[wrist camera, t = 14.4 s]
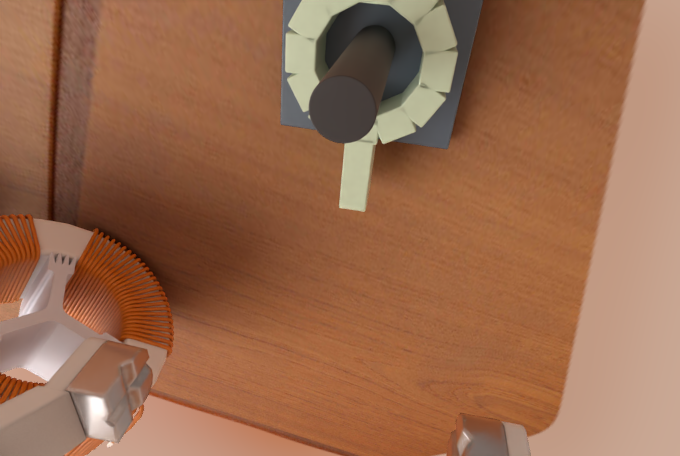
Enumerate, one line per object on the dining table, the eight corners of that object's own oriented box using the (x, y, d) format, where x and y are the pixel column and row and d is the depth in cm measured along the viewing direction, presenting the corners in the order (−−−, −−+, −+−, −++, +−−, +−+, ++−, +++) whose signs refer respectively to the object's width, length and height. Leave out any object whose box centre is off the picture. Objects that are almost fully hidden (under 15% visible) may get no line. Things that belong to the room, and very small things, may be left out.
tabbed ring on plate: (469, -29, 19) (475, -27, 17) (422, 199, 25) (423, 220, 23) (300, -46, 20) (286, -46, 18) (293, 180, 26) (282, 199, 24)
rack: (492, -53, 20) (556, -56, 10) (446, 141, 24) (461, 261, 15) (291, -75, 20) (177, -97, 11) (285, 118, 25) (203, 218, 16)
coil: (33, 173, 30) (-246, 334, 17) (216, 303, 34) (94, 512, 21) (3, 234, 33) (-248, 405, 21) (173, 346, 37) (46, 548, 24)
